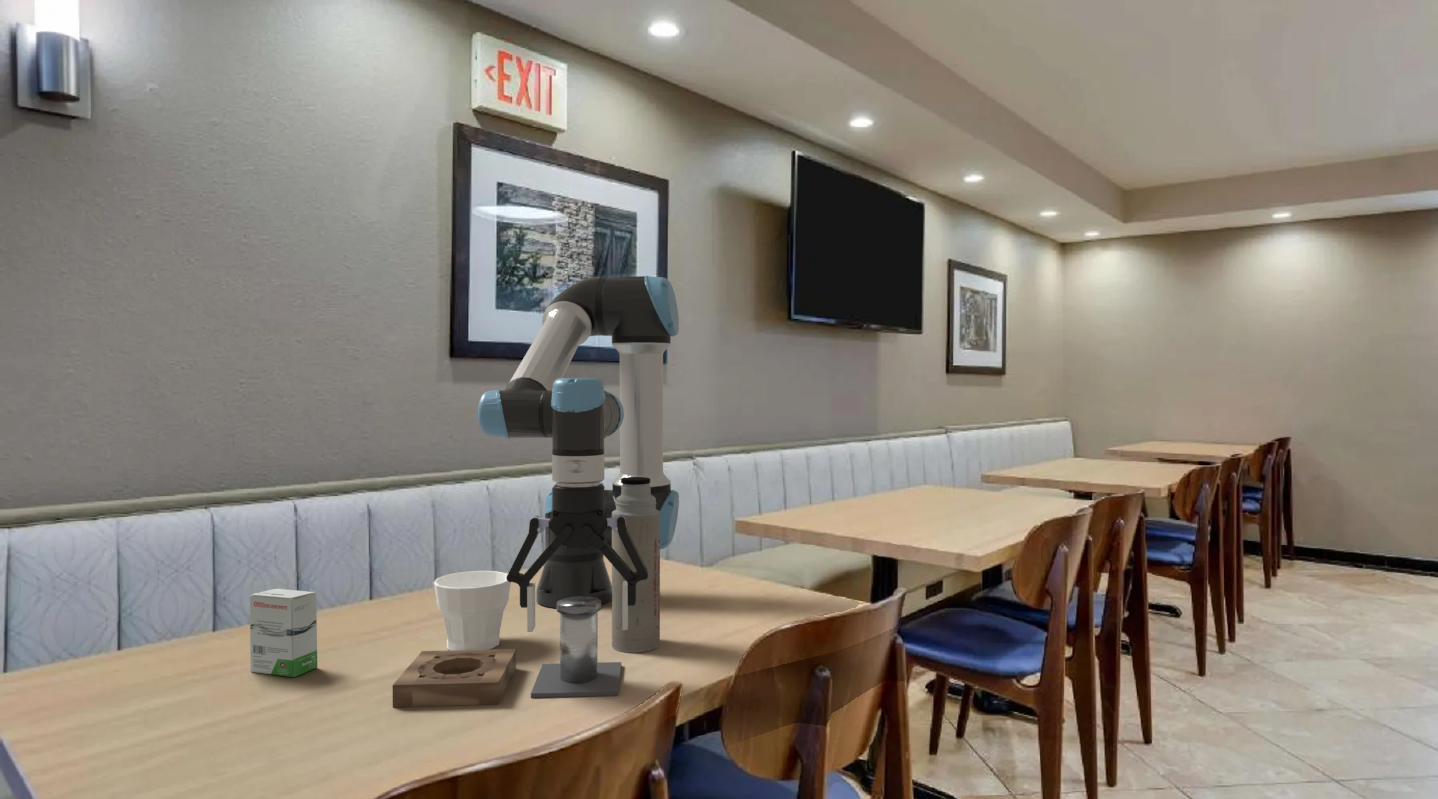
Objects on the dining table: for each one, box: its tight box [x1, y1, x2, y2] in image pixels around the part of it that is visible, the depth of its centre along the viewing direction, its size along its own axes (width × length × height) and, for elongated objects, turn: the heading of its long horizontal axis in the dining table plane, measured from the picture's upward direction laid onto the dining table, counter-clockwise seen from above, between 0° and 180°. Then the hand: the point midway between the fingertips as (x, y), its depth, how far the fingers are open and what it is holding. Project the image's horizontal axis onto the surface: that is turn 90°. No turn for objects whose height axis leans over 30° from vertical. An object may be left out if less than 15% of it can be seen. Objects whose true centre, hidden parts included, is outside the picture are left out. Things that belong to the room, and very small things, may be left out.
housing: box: [392, 648, 517, 708], centre depth 117 cm, size 14×14×3 cm
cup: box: [433, 570, 512, 651], centre depth 136 cm, size 12×12×11 cm
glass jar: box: [556, 596, 602, 684], centre depth 119 cm, size 6×6×11 cm
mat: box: [530, 661, 622, 699], centre depth 120 cm, size 12×12×1 cm
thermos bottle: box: [611, 477, 661, 653], centre depth 136 cm, size 8×8×28 cm
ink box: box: [249, 588, 318, 678], centre depth 124 cm, size 9×5×12 cm, turn 71°
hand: (578, 628), depth 120 cm, fingers open, 13 cm apart
